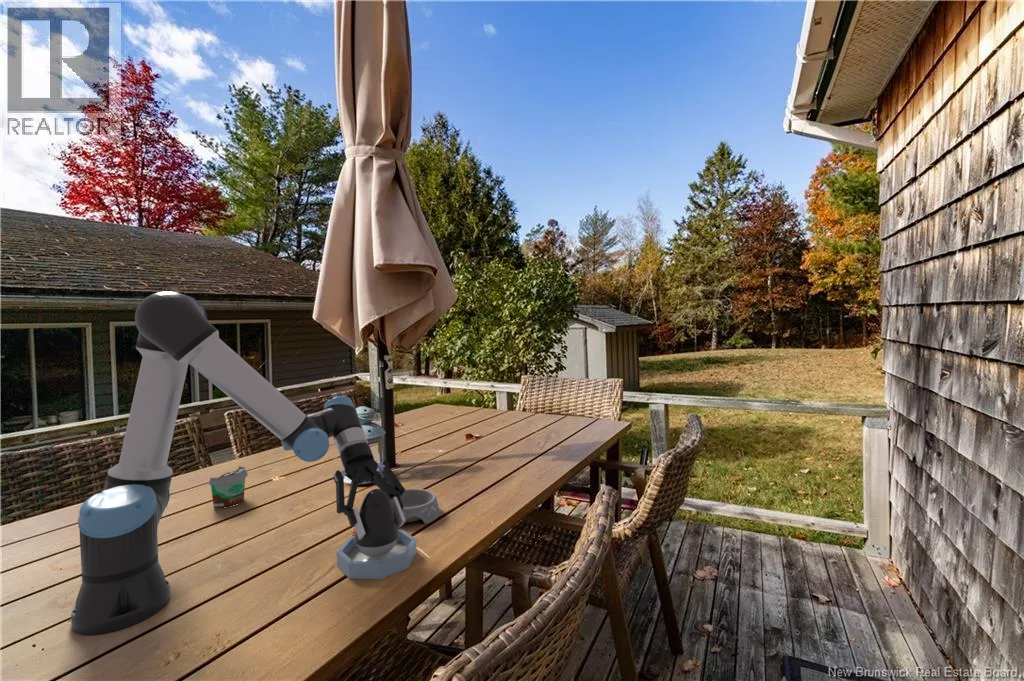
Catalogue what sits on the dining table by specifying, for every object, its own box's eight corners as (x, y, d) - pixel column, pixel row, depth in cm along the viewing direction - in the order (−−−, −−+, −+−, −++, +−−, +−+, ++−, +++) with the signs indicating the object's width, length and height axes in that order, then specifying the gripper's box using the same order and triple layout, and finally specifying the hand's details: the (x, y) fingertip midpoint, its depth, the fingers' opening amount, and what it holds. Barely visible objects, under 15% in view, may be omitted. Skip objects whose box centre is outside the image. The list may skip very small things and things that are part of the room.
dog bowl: (374, 508, 143) (374, 491, 143) (434, 500, 149) (434, 484, 149) (378, 532, 127) (378, 513, 127) (445, 522, 133) (445, 503, 133)
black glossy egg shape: (353, 565, 106) (352, 500, 105) (356, 544, 116) (355, 484, 115) (399, 559, 108) (398, 495, 108) (398, 539, 119) (397, 480, 118)
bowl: (402, 580, 103) (401, 564, 103) (327, 577, 104) (327, 562, 104) (421, 543, 120) (421, 529, 120) (357, 541, 121) (356, 528, 121)
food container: (227, 512, 140) (226, 479, 139) (209, 510, 141) (208, 478, 141) (257, 497, 152) (256, 466, 152) (241, 495, 153) (240, 465, 153)
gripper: (388, 449, 130) (418, 523, 119) (306, 466, 115) (331, 552, 104) (397, 434, 126) (429, 509, 115) (313, 449, 111) (340, 537, 100)
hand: (383, 530), depth 110 cm, fingers closed on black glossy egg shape, 9 cm apart
